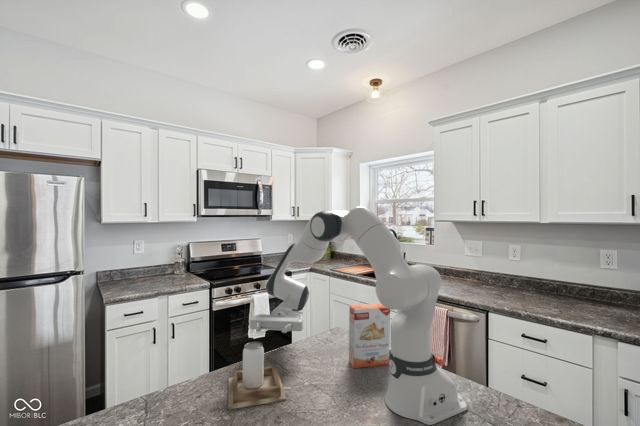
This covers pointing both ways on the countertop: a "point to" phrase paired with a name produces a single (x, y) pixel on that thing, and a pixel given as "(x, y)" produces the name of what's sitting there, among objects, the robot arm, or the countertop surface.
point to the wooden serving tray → (255, 390)
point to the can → (253, 365)
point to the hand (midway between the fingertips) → (270, 330)
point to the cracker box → (369, 335)
